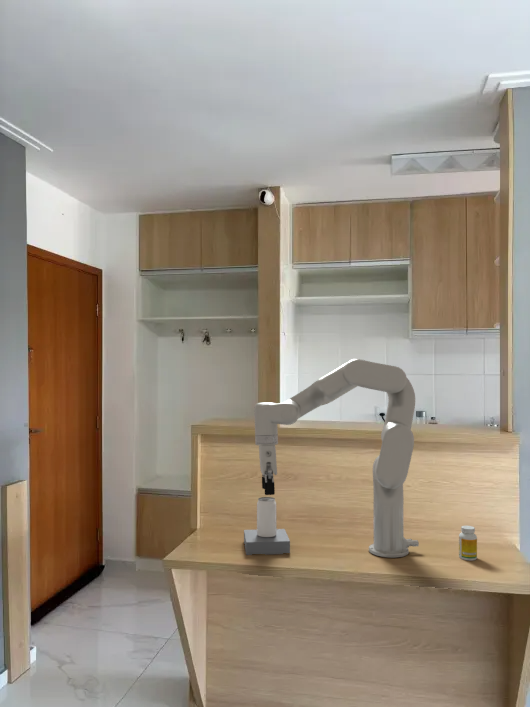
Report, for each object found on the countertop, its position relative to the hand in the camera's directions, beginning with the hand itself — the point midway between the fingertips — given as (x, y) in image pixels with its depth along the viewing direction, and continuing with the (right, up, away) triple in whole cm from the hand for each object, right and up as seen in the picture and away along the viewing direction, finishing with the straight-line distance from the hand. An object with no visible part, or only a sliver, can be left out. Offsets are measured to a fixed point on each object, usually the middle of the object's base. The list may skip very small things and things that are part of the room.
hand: (268, 491), depth 191 cm
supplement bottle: (+63, -19, -11) cm, 66 cm away
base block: (-1, -19, 0) cm, 18 cm away
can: (0, -15, 0) cm, 15 cm away
